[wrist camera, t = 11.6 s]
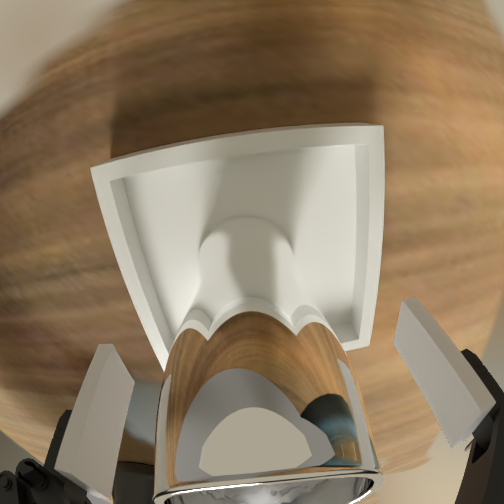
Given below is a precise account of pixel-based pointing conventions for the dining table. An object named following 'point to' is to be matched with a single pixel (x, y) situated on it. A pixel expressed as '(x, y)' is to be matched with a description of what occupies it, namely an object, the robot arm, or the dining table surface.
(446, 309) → the dining table surface
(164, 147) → the tray
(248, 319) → the beer glass
